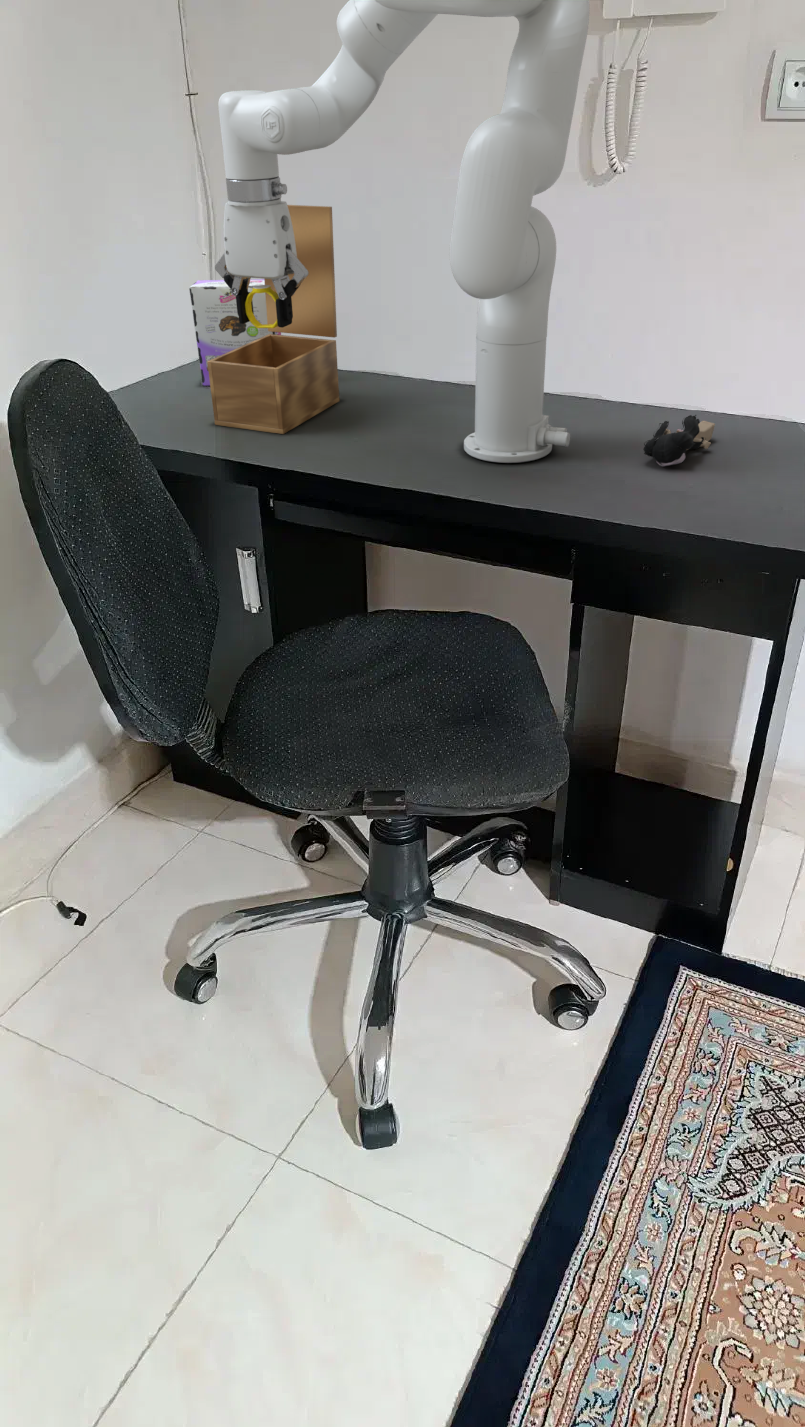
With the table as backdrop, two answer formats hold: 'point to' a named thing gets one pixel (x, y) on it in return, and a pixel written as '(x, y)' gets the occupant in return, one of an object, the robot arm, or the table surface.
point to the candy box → (223, 320)
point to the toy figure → (678, 441)
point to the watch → (248, 306)
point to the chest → (274, 382)
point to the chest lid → (311, 275)
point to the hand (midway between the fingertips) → (265, 322)
